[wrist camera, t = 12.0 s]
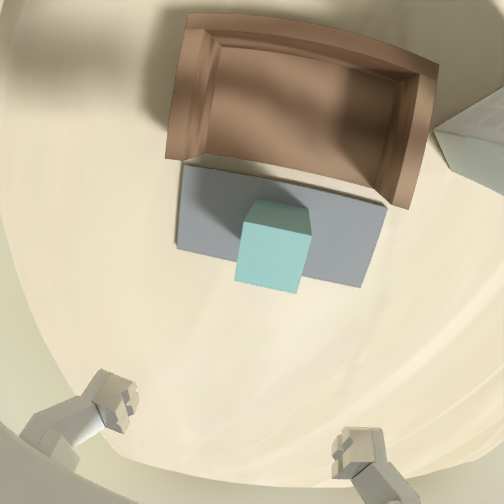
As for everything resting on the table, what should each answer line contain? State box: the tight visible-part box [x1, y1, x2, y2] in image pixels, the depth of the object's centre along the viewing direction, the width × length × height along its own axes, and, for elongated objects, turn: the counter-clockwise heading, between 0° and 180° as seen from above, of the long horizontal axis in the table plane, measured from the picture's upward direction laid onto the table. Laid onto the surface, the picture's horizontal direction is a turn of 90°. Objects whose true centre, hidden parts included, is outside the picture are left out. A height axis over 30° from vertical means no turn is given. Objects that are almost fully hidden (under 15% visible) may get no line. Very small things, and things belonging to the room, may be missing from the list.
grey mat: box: [177, 165, 388, 288], centre depth 29 cm, size 9×20×1 cm, turn 80°
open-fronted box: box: [165, 13, 439, 210], centre depth 21 cm, size 12×19×6 cm, turn 80°
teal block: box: [234, 198, 312, 294], centre depth 25 cm, size 5×5×7 cm
